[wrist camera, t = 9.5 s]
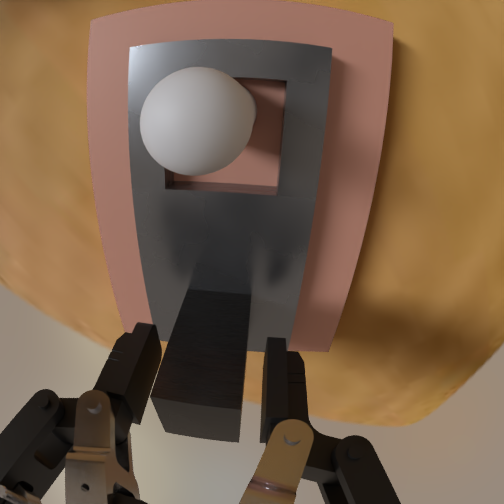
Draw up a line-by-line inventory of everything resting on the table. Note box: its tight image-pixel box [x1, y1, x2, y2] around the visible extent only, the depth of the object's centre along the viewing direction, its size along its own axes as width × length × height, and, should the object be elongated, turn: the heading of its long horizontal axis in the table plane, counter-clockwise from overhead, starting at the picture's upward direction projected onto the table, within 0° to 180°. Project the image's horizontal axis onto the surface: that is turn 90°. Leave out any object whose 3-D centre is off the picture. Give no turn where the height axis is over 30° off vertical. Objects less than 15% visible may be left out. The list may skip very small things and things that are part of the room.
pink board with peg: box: [87, 0, 393, 352], centre depth 10 cm, size 18×13×8 cm
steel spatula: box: [128, 39, 332, 442], centre depth 10 cm, size 15×7×7 cm, turn 177°
